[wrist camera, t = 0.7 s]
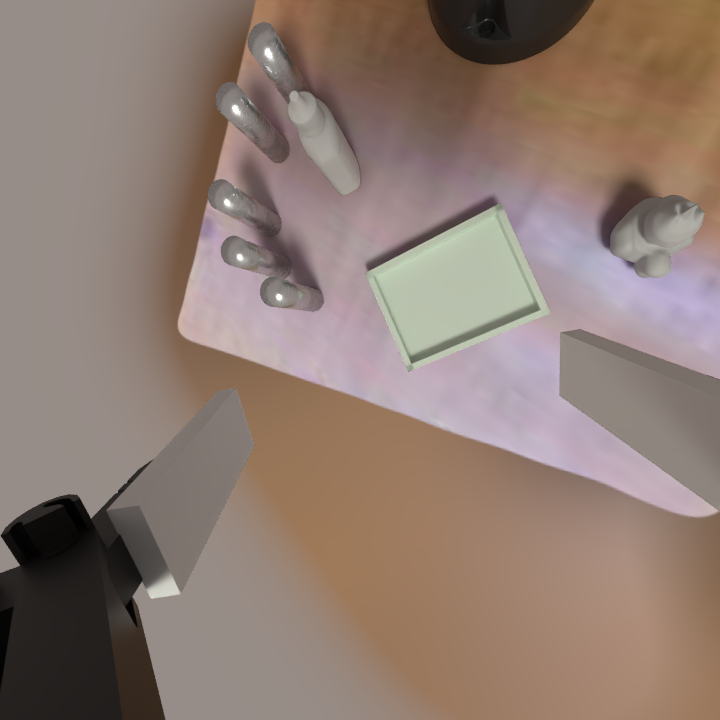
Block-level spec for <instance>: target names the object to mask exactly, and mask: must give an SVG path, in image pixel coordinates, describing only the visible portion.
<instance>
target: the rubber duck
mask: <svg viewBox="0 0 720 720" xmlns="http://www.w3.org/2000/svg"><path fill="white" fill-rule="evenodd" d="M698 205H699V203H698V204H695V203H694V202H692V201H689V200H688V199H686V198H684V197H682V196H678V195H669V196H666V197H665V198H662V197H652V198H647V199H644V200H643V201H641V202H640V203H638V204H637V205H635V206H634V207H633V208H632V209H631V210H630V211H629V212H628V213H627V214H626V215H625V216H624V217H623V218H622V219H621V220H620V221H619V222H618V223H617V225H616V226H615V228H614V229H613V231H612V233H611V236H610V251H611V253H612V254H613V255H614V256H617V257H621V258H623V259H624V260H627V261H630V262H634V263H635V265H634V269H635V272H636V274H637V275H638V276H640V277H642V278H649V277H653V278H659V277H662V276H665V275H667V274H668V273H669V272H670V270H671V258H670V256H671V255H673V254H674V253H676V252H677V251H679V250H681V249H683V248H685V247H686V246H688V245H689V244H691V243H692V242H693V239H694V234H695V233H696V232H697V231H698V230H699V229H700V227H701V225H702V222H703V217H704V213H705V212H704V211H703V210H702V209H701V208H700V207H699V206H698Z"/></svg>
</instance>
